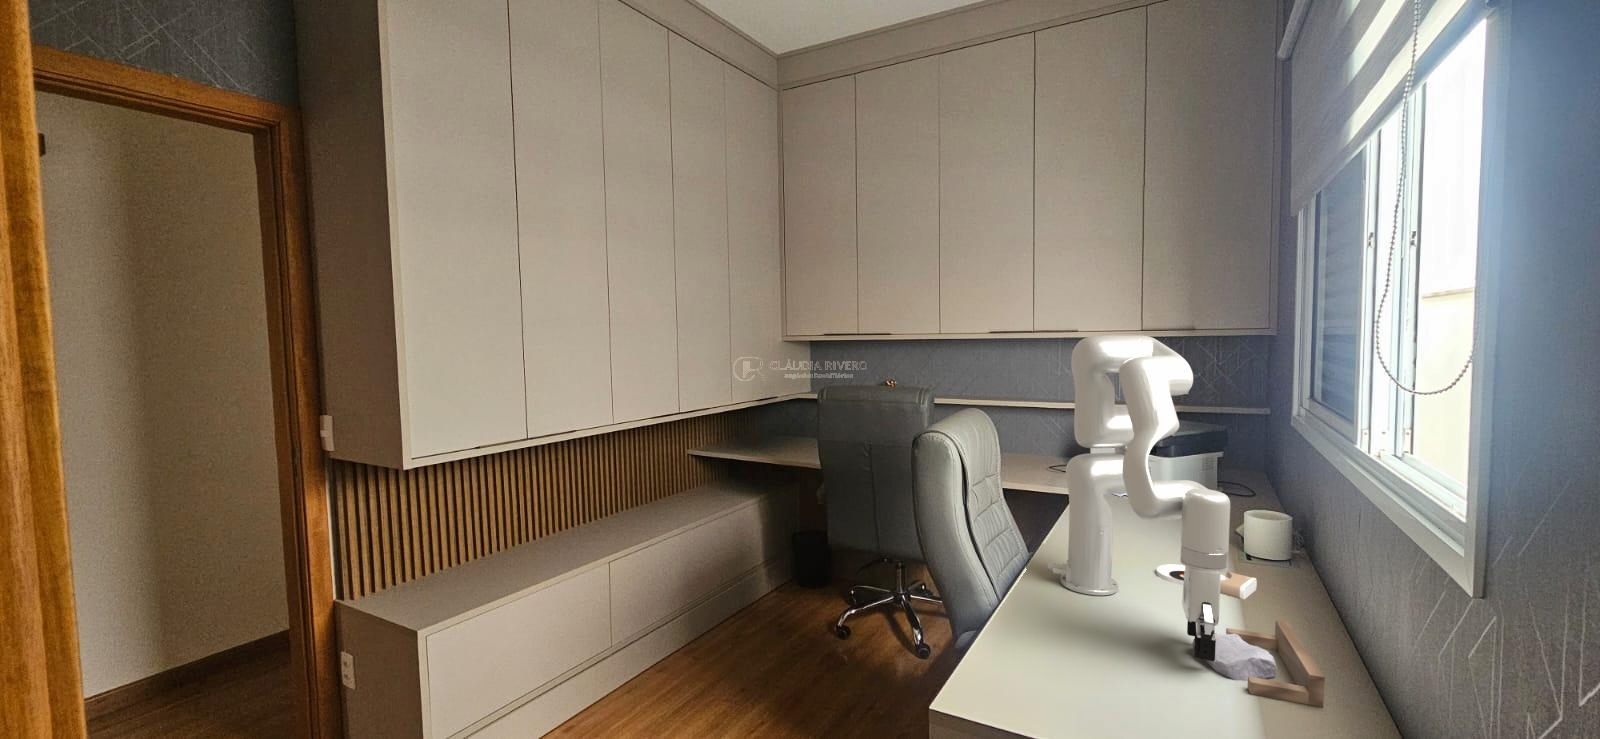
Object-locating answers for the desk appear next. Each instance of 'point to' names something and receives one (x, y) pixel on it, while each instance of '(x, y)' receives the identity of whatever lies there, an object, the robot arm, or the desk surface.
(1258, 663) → the stone block
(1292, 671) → the walnut frame
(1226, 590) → the record player
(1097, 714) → the desk surface
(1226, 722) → the desk surface
